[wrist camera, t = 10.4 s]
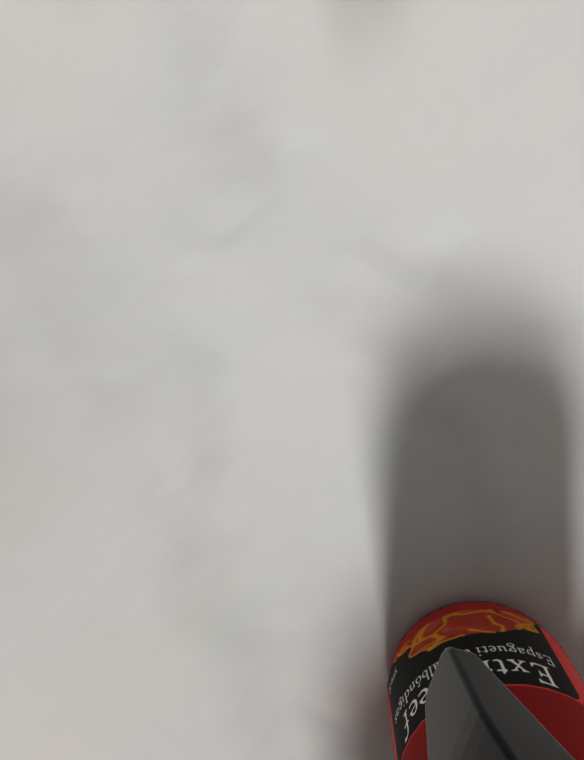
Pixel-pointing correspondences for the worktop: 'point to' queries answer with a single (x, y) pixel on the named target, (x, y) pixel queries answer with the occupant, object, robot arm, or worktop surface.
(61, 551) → the worktop surface
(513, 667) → the canned food
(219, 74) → the worktop surface
